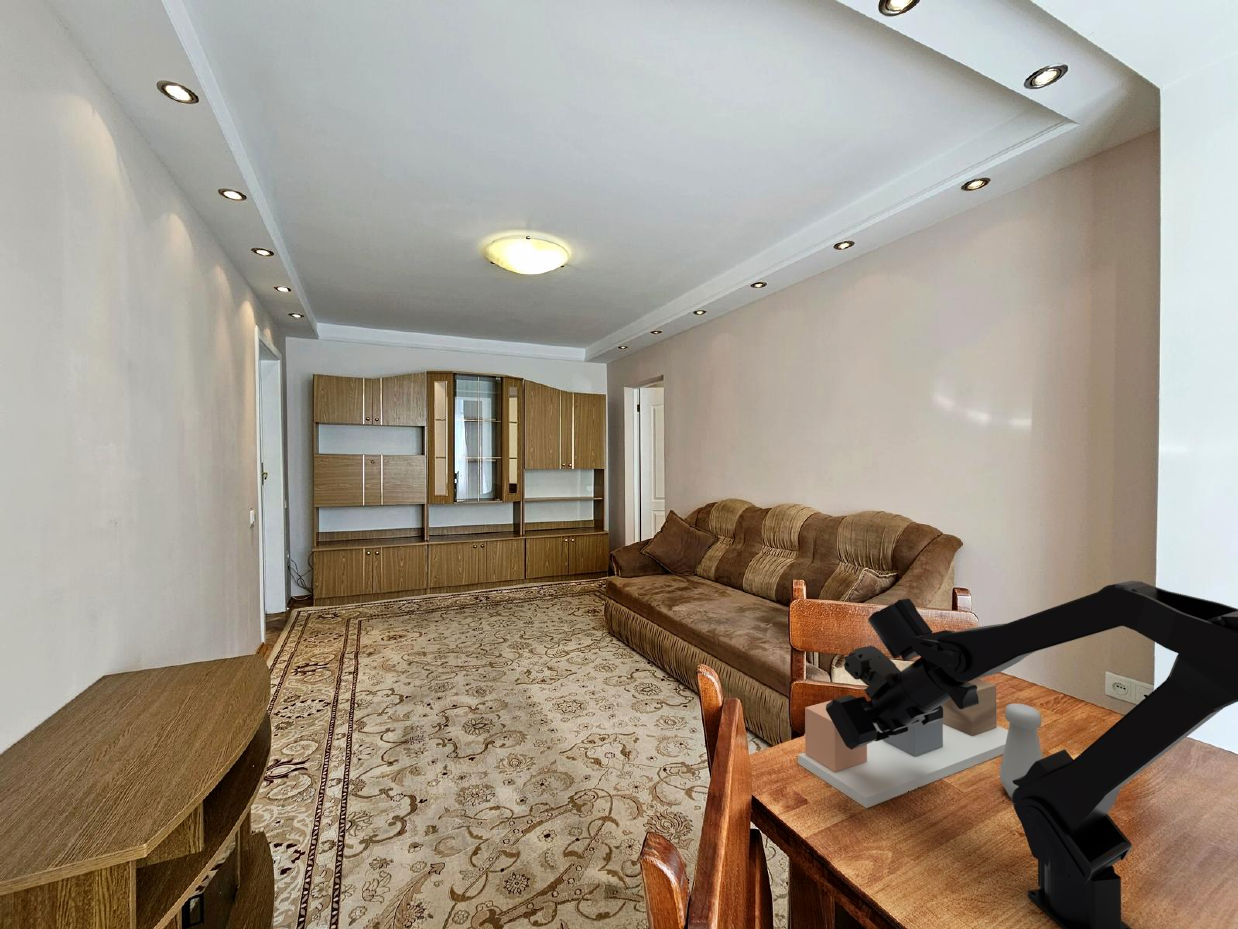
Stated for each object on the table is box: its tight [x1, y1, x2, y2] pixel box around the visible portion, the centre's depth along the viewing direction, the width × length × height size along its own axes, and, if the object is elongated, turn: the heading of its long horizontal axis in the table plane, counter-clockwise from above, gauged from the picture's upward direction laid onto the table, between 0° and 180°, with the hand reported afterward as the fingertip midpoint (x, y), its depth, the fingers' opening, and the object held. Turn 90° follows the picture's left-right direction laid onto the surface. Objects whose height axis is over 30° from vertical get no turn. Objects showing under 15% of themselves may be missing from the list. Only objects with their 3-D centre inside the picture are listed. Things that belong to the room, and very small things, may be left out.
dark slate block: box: [883, 704, 943, 756], centre depth 92 cm, size 6×7×8 cm
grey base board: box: [797, 724, 1009, 809], centre depth 91 cm, size 39×13×2 cm, turn 116°
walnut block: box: [943, 678, 998, 736], centre depth 98 cm, size 6×7×8 cm
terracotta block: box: [804, 699, 867, 772], centre depth 87 cm, size 6×7×8 cm
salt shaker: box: [998, 703, 1044, 799], centre depth 80 cm, size 6×6×13 cm
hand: (852, 734), depth 85 cm, fingers closed, pressing on terracotta block
